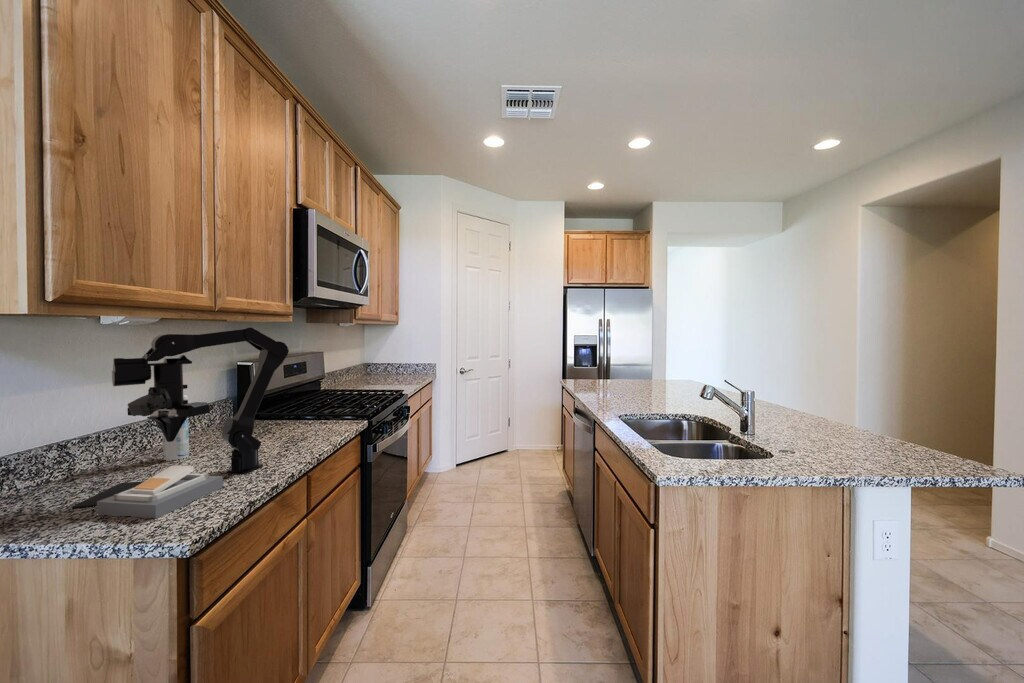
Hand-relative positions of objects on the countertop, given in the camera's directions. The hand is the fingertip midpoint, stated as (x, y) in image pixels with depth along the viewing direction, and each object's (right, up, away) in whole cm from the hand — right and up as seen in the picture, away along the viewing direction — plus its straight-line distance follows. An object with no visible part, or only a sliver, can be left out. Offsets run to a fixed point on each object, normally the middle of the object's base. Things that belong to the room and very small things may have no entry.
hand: (170, 441), depth 103 cm
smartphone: (-11, -13, -4) cm, 17 cm away
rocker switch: (+6, -8, -8) cm, 12 cm away
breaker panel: (+6, -12, -8) cm, 16 cm away
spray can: (-19, -12, +24) cm, 33 cm away
